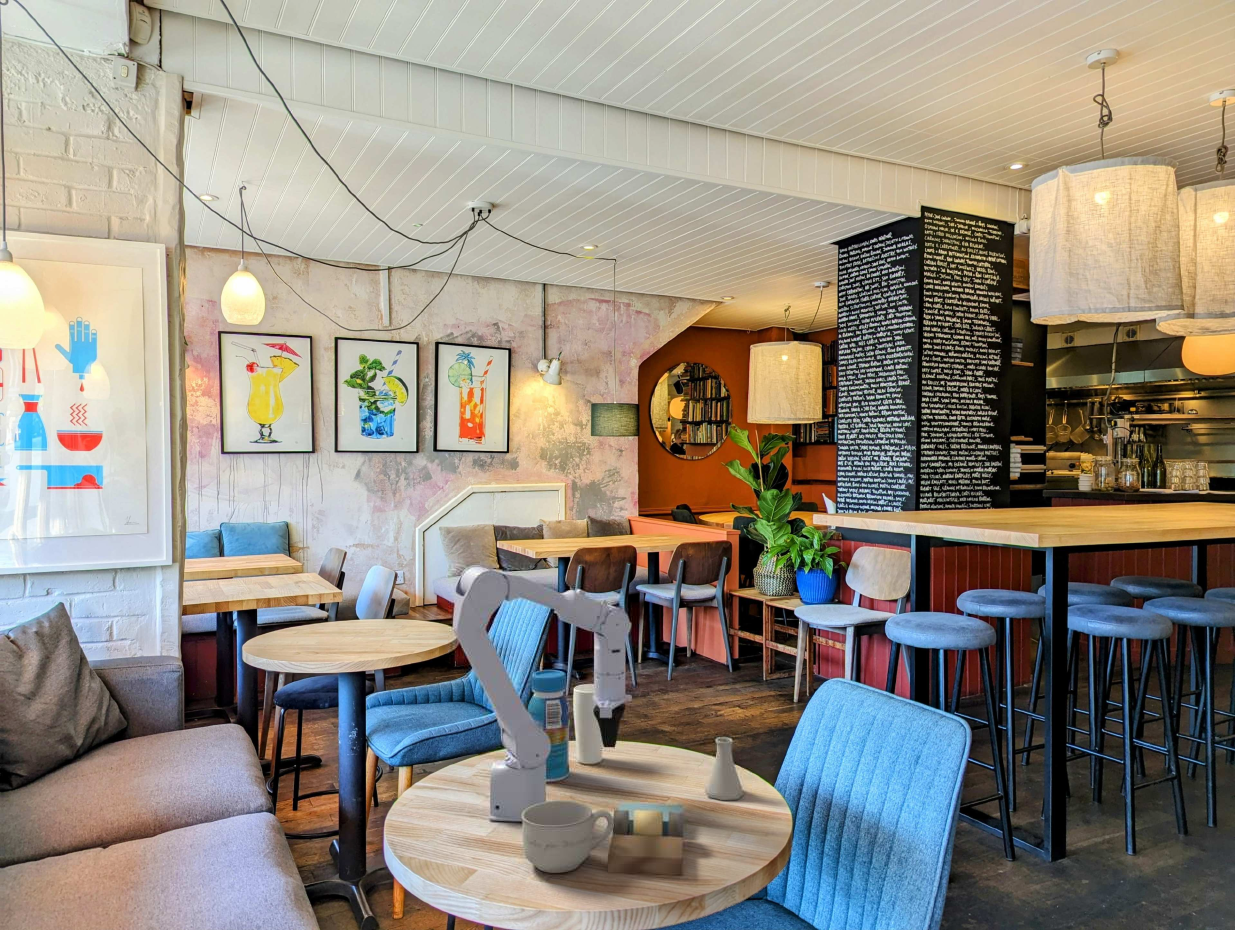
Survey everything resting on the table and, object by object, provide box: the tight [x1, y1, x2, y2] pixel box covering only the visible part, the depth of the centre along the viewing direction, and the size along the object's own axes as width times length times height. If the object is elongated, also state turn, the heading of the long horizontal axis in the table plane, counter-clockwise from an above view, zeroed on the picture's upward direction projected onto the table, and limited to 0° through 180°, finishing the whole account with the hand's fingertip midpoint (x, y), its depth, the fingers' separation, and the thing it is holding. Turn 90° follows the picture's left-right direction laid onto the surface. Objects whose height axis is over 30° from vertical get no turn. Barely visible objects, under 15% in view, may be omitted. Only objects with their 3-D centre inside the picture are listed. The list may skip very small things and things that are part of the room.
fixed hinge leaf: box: [607, 809, 684, 876], centre depth 126 cm, size 11×12×5 cm
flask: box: [704, 736, 745, 801], centre depth 151 cm, size 7×7×10 cm
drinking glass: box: [572, 683, 604, 765], centre depth 168 cm, size 7×7×15 cm
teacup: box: [522, 800, 614, 874], centre depth 123 cm, size 14×11×8 cm
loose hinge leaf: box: [617, 802, 684, 837], centre depth 134 cm, size 11×12×5 cm
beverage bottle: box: [527, 669, 571, 783], centre depth 160 cm, size 8×8×20 cm
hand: (609, 746), depth 149 cm, fingers closed
